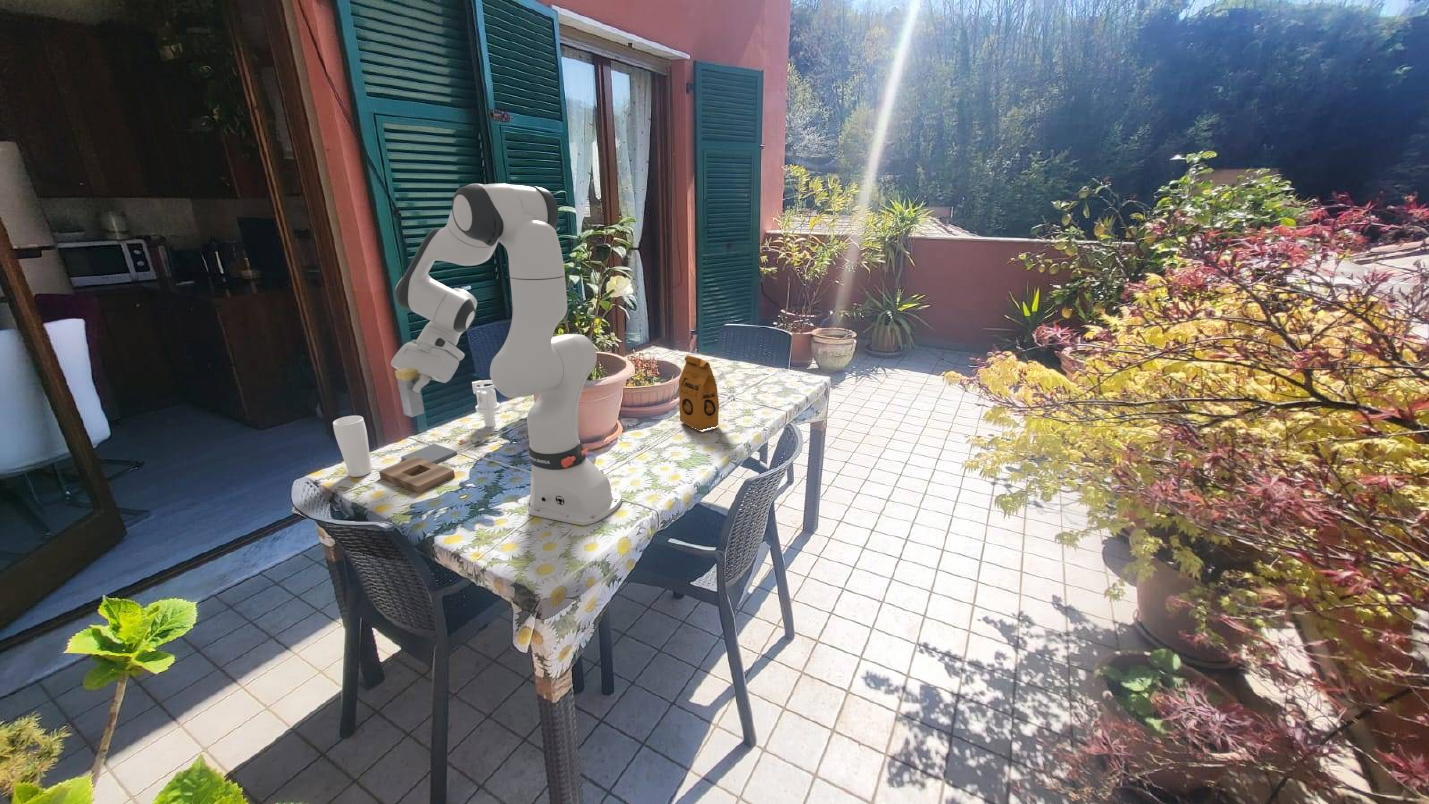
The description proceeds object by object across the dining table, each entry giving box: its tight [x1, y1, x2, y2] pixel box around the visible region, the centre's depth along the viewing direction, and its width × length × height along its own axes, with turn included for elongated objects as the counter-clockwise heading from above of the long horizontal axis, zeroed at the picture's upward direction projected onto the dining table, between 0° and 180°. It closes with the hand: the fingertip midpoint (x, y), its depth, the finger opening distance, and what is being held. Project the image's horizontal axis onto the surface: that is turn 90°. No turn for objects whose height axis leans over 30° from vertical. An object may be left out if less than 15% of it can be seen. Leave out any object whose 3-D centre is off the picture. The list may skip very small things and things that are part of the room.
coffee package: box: [678, 354, 720, 431], centre depth 175 cm, size 10×12×22 cm
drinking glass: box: [332, 415, 373, 478], centre depth 146 cm, size 7×7×15 cm
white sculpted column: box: [471, 379, 501, 428], centre depth 176 cm, size 7×7×15 cm
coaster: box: [400, 443, 458, 464], centre depth 157 cm, size 10×10×1 cm
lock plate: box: [378, 456, 456, 494], centre depth 146 cm, size 16×10×2 cm, turn 60°
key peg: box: [394, 367, 426, 418], centre depth 147 cm, size 4×4×12 cm
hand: (407, 389), depth 146 cm, fingers closed on key peg, 3 cm apart
